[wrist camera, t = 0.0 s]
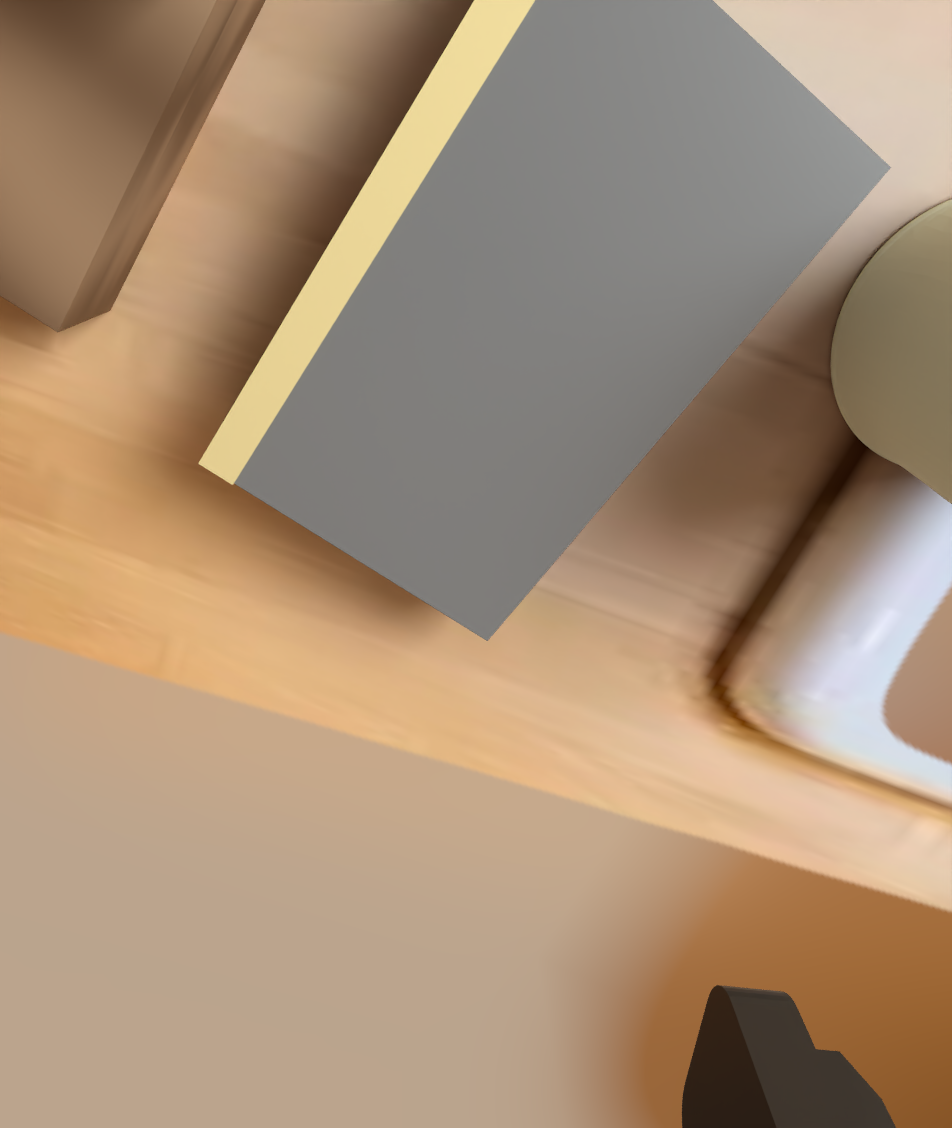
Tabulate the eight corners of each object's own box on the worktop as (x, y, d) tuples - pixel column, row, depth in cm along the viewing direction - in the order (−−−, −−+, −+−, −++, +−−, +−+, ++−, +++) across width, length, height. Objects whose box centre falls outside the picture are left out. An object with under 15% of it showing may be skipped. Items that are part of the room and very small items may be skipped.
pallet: (180, -366, 21) (114, -476, 17) (367, -198, 22) (343, -267, 18) (-46, 205, 26) (-130, 213, 23) (113, 309, 28) (57, 332, 24)
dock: (548, -97, 23) (560, -145, 19) (834, 165, 25) (893, 167, 22) (235, 423, 29) (198, 463, 26) (487, 586, 32) (487, 643, 28)
